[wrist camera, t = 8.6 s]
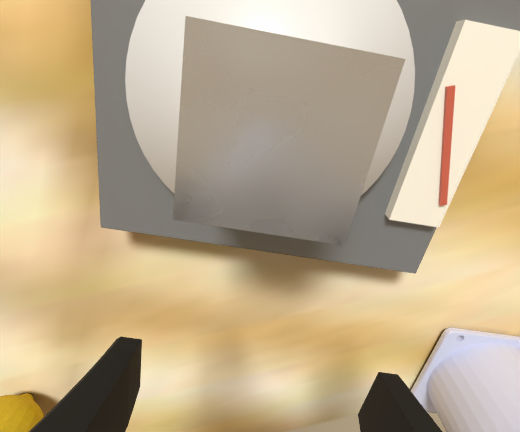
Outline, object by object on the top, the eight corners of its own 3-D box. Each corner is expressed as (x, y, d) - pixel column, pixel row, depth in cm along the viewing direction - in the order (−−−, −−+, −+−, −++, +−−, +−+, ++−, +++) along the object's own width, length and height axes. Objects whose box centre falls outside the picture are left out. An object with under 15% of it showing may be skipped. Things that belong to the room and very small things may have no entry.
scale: (519, -45, 13) (591, -74, 10) (398, 249, 19) (422, 283, 16) (114, -136, 12) (68, -197, 9) (119, 207, 18) (93, 235, 15)
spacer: (340, 58, 12) (405, 58, 7) (311, 172, 14) (344, 245, 8) (219, 34, 12) (185, 15, 6) (207, 154, 14) (172, 219, 8)
